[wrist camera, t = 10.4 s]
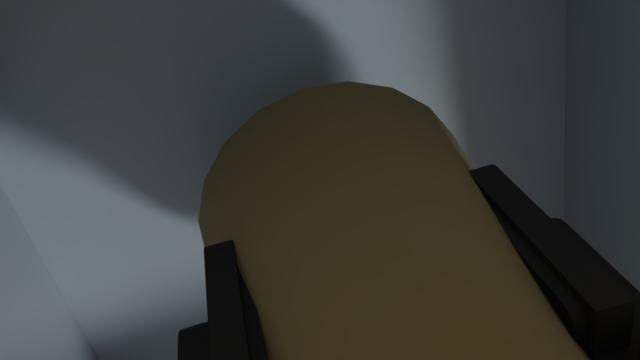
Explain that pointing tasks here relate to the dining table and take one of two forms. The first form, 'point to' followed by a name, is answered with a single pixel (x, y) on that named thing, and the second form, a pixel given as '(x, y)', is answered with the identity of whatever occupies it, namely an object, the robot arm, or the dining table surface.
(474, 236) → the cork
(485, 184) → the robot arm
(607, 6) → the grey bin
